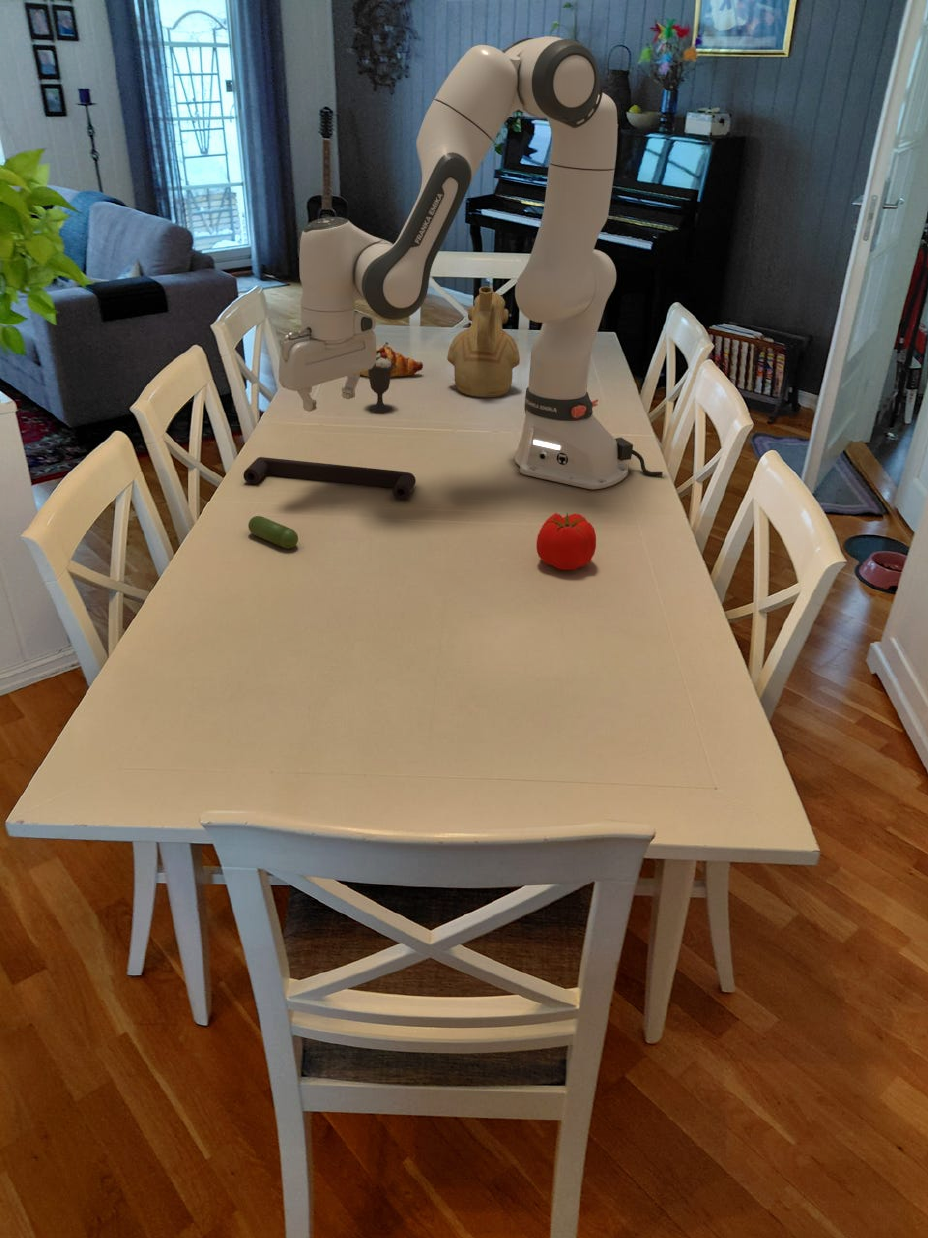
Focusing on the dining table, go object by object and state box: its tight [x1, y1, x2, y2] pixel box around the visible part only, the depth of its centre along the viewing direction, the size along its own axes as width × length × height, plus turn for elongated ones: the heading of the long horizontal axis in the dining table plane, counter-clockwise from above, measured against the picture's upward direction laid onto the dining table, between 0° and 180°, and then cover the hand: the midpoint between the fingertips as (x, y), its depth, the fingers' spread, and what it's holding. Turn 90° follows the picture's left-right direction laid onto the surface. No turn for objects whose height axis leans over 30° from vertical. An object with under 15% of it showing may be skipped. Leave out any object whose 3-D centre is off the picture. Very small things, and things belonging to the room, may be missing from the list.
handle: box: [242, 456, 417, 501], centre depth 168 cm, size 30×6×3 cm, turn 81°
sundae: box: [368, 341, 396, 414], centre depth 203 cm, size 7×7×15 cm
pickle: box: [247, 515, 299, 550], centre depth 149 cm, size 10×3×3 cm, turn 52°
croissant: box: [360, 345, 424, 378], centre depth 228 cm, size 21×10×8 cm, turn 87°
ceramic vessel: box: [446, 286, 521, 398], centre depth 215 cm, size 17×20×25 cm
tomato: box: [535, 512, 597, 571], centre depth 145 cm, size 9×9×8 cm
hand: (329, 403), depth 162 cm, fingers open, 8 cm apart
